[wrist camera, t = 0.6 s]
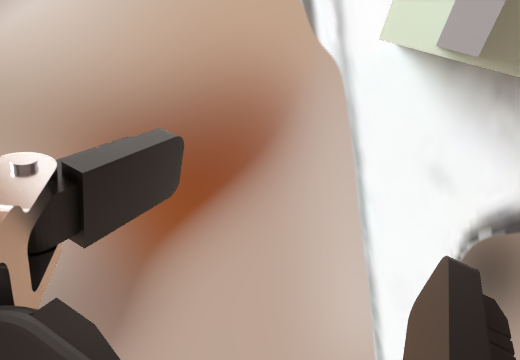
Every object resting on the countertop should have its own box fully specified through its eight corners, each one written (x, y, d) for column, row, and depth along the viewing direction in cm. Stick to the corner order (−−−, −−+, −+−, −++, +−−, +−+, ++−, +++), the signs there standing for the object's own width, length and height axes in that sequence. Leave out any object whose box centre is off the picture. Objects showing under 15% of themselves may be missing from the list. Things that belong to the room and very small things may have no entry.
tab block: (418, -26, 28) (403, -73, 17) (546, 1, 25) (628, -34, 14) (392, 40, 30) (364, 38, 19) (507, 71, 27) (553, 89, 16)
